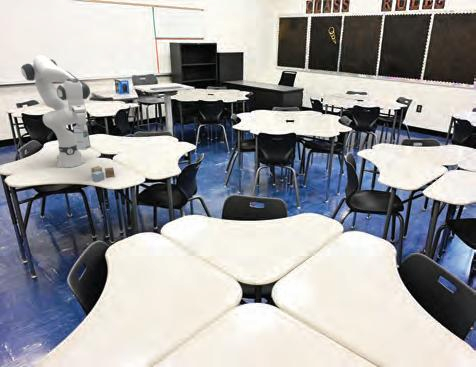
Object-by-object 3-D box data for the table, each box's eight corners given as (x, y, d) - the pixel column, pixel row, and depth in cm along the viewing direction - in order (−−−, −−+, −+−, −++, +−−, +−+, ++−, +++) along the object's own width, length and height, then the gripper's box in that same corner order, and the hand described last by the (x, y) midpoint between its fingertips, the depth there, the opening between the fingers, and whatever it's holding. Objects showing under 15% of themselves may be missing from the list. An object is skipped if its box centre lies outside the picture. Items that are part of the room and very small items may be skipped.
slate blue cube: (92, 180, 220) (91, 173, 218) (98, 178, 224) (97, 170, 222) (98, 182, 218) (97, 174, 216) (104, 179, 222) (103, 172, 220)
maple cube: (92, 174, 230) (90, 167, 228) (99, 172, 234) (98, 165, 232) (95, 176, 227) (94, 169, 225) (103, 174, 231) (101, 167, 229)
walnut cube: (105, 175, 228) (104, 168, 227) (113, 174, 230) (112, 167, 229) (106, 178, 224) (105, 170, 222) (114, 176, 226) (113, 169, 224)
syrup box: (85, 150, 214) (81, 126, 209) (76, 149, 215) (72, 126, 210) (91, 147, 219) (87, 124, 214) (82, 147, 220) (78, 124, 215)
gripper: (67, 105, 214) (72, 127, 219) (74, 110, 198) (78, 134, 204) (78, 104, 218) (82, 126, 223) (86, 109, 202) (90, 132, 207)
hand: (80, 130), depth 213 cm, fingers closed on syrup box, 8 cm apart
